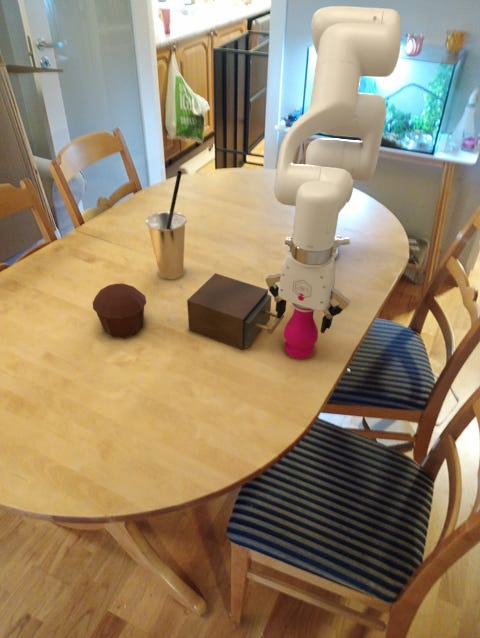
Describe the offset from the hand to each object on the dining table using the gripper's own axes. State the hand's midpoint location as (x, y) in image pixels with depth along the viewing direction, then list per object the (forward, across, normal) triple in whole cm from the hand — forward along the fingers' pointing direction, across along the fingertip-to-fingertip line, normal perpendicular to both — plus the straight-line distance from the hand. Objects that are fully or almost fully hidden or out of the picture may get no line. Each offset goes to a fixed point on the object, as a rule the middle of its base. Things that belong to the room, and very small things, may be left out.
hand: (302, 321), depth 97 cm
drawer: (+7, -14, 0) cm, 15 cm away
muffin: (+8, -38, -12) cm, 41 cm away
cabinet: (+8, -18, 0) cm, 19 cm away
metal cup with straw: (+8, -40, +12) cm, 43 cm away
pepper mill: (+8, 0, 0) cm, 8 cm away
